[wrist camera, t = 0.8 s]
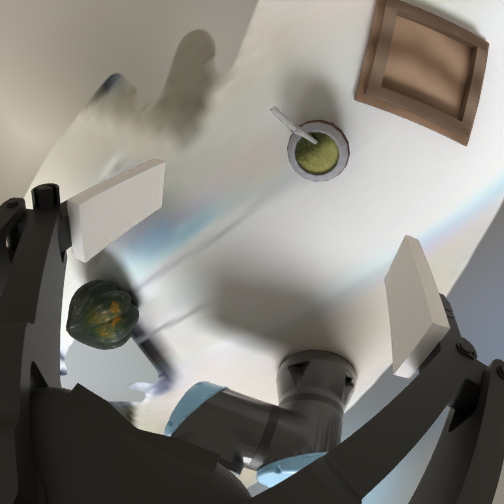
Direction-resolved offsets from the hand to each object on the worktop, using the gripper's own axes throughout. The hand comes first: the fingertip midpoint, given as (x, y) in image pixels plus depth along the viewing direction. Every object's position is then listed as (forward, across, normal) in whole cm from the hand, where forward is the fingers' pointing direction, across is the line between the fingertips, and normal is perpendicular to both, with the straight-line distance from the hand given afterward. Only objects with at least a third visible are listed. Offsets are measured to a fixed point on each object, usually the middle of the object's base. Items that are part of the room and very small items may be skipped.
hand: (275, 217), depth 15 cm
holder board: (+27, -11, -15) cm, 33 cm away
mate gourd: (+26, 0, 0) cm, 26 cm away
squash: (+24, +31, +40) cm, 56 cm away
